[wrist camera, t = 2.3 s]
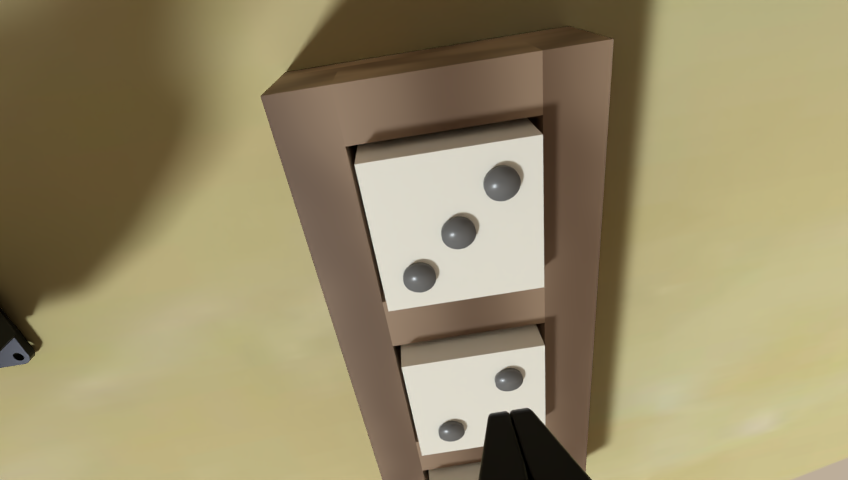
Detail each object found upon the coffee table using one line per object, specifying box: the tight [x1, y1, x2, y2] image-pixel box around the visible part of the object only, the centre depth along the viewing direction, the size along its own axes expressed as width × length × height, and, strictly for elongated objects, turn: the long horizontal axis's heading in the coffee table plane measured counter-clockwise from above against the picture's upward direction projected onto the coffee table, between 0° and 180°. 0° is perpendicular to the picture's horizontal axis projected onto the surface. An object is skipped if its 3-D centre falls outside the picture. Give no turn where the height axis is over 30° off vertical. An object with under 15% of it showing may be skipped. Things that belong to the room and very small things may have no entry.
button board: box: [261, 26, 614, 480], centre depth 23 cm, size 11×29×4 cm, turn 8°
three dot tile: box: [354, 118, 544, 311], centre depth 17 cm, size 6×6×3 cm
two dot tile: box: [401, 324, 545, 456], centre depth 21 cm, size 6×6×3 cm
